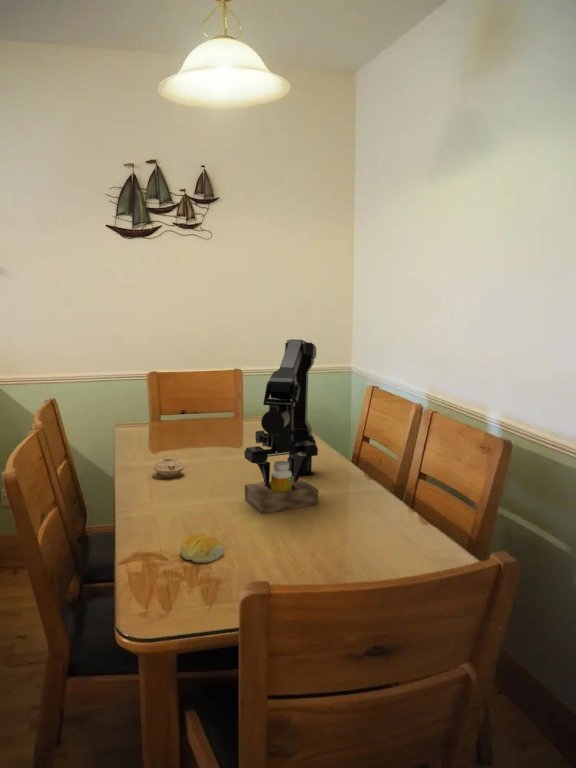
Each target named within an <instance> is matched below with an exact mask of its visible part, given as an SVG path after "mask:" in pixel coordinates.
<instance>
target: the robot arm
mask: <svg viewBox="0 0 576 768" xmlns="http://www.w3.org/2000/svg"><path fill="white" fill-rule="evenodd" d="M284 344H285V345H284V354H283V358H282V359H281V363H280V366H279V369H277V370H276V371H274V372H272V373H271V376H270V378H269V379H268V380H267V382H266V388H265V393H264V399H263V406H268V408H269V409H268V411H266V413H264V414H263V415H262V417H261V420H260V424H261V427H262V429H263V430H256V431H255V436H254V437H255V443H256V444H262V447H261V446H250V447H246V449H245V450H244V458H245V460H247V461H249V462H250V463H252V464H256V465H257V466H258V468H259V471H260V473H261V476H262V478H263V481H264V482H265V485H266V486H269V481H270V479H271V477H270V476H271V475H270V473H271V462H269V461H268V457H275V456H276V457H277V456H286V455H288V458H287V461H286V462H289V469H288V470H290V471H291V472H292V477H293V478H294V481H295V482H297V480H298V478H300V477H304V476H307V475H308V476H310V475H314V474H315V472H314V471H312V464H313V463H312V462H313V461H312V460H313V457H317V456H318V455H319V448H318V445H317V443H316V442H317V441H316V439H315V436H314V435H313V428H312V426H311V424H310V423H309V421H308V402H309V401H308V399H309V372H310V370H311V368H312V367H313V365H314V363H315V360H316V359H317V346H316V345H315V344H314V343H313V342H308V341H306V340H303V339H295V338H294V339H291V338H290V339H287V340H286V342H285V343H284ZM265 432H266V433H265ZM263 447H267V449H265V448H263Z"/></svg>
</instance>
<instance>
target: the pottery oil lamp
mask: <svg viewBox="0 0 576 768" xmlns="http://www.w3.org/2000/svg"><path fill="white" fill-rule="evenodd" d="M185 468H186V464H184V463H183V461H182V460H180V459H179V458H174V457H171V456H169V455H167V456H162V457H161V459H159V460H158V461H157V462H156V463H155V464H154V465H153V467H152V469H153V471H155V472H156V473H157V474H159V475H161V476H162V477H166V478H172V477H176V476H177V475H178V474H179V473H181V472H182V471H184V469H185Z"/></svg>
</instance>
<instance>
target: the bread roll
mask: <svg viewBox="0 0 576 768" xmlns="http://www.w3.org/2000/svg"><path fill="white" fill-rule="evenodd" d="M224 552H225V549H224V544H223V542H222V541H220V540H219V539H218V538H217V537H213V536H206V535H204V534H203V533H198V534H197V533H196V534H191V535H189V536H188V537H185V539H184V540H182V543H181V545H180V555H181V557H182V558H184V559H185V560H187V561H192V562H195V563H201V564H202V563H203V564H204V563H205V564H206V563H210V562H211V563H212V562H213V561H216V560H218V559H219V558H221V556H222V555H223V554H224Z"/></svg>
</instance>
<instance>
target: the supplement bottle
mask: <svg viewBox="0 0 576 768" xmlns="http://www.w3.org/2000/svg"><path fill="white" fill-rule="evenodd" d="M288 469H289V462H287V461H285V460H277V461H275V462H273V470H272V471H271V472H270V473H271V475H270V476H271V477H270V481H271V491H273V492H274V493H279V492H285V491H292V478H293V475H292V472H291V471H290V470H288Z"/></svg>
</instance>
